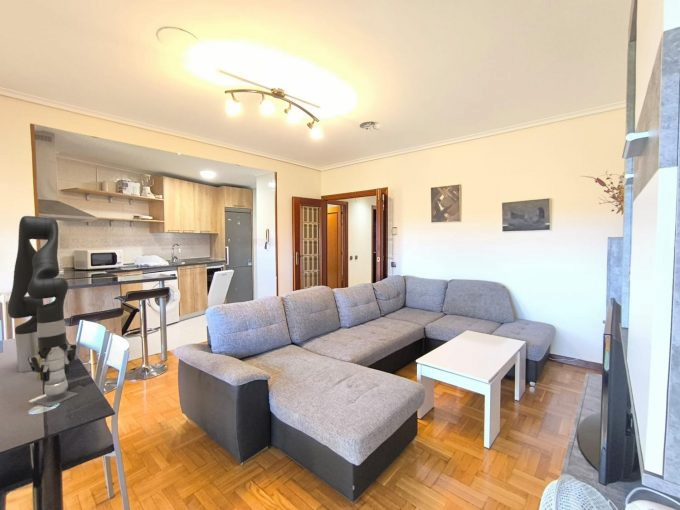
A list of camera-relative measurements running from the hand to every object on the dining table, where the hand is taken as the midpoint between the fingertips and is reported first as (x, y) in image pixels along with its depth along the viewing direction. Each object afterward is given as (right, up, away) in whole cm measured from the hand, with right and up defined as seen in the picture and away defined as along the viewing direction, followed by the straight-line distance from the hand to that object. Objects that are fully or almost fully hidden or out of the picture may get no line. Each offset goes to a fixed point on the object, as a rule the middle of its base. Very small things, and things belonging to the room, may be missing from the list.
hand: (55, 377), depth 112 cm
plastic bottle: (0, -7, +1) cm, 7 cm away
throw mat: (-2, -8, +1) cm, 8 cm away
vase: (-20, -7, +18) cm, 28 cm away
